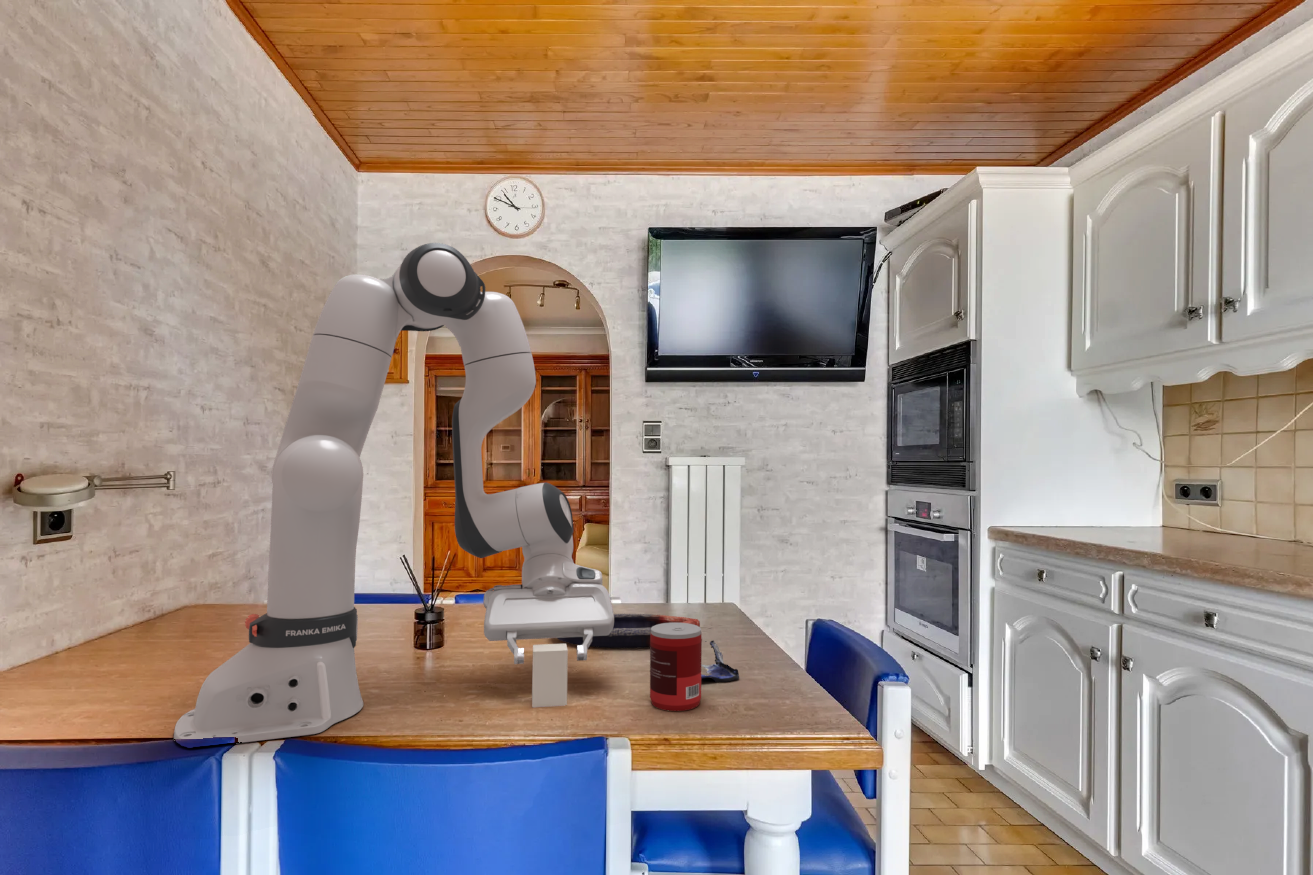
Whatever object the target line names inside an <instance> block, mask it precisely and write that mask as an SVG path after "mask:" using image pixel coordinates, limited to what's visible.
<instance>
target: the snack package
mask: <svg viewBox="0 0 1313 875" xmlns="http://www.w3.org/2000/svg"><path fill="white" fill-rule="evenodd" d="M706 642H707V640H705V643H706ZM709 645H710V648H711V649H713V653H714V656H715V657H714V659H715V660H714V663H712V664H709V665H707V664H701V667H703V668H704V669H705V670H706V674H709V675H706V674H703V673H701V680H702V679H710V678H711V679H712V680H713V681H714V682H715V683H728V682H731V681H736V680H737V681H738V680H740V675H739V674H740V673H739V670H738V669H737V668H733V667H731V666H730V665H729V664H726V663H725V662H724V655H723V654H722V652H721V651H720V648H719V646H718V644H717V643H716V642H715V640H710V641H709Z"/></svg>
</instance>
